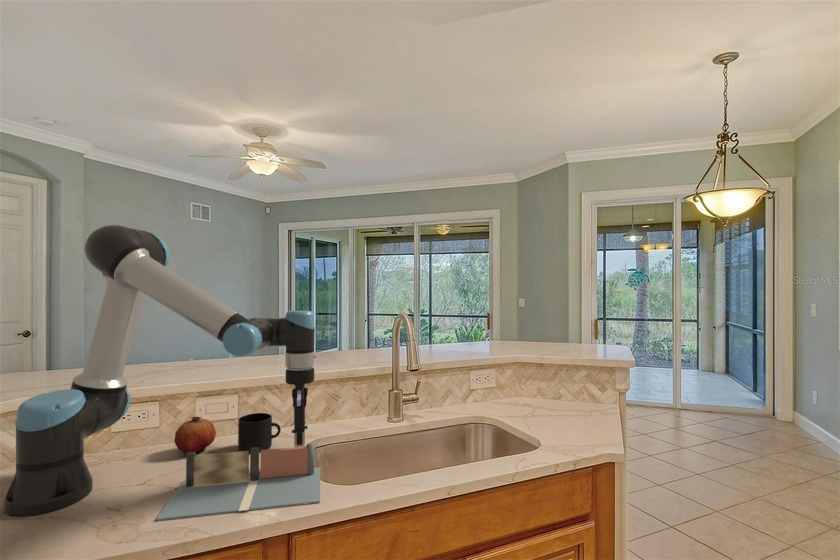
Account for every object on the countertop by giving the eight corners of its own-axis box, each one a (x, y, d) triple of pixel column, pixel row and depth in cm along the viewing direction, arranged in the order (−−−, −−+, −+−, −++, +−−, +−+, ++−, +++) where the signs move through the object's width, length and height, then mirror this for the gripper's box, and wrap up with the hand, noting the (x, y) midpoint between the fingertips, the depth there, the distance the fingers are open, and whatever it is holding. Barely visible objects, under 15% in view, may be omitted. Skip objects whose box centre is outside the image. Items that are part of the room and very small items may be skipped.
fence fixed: (184, 489, 100) (185, 455, 100) (187, 485, 102) (187, 452, 102) (258, 482, 104) (258, 449, 104) (259, 478, 106) (259, 446, 106)
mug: (279, 451, 124) (279, 420, 124) (235, 455, 121) (235, 423, 121) (281, 439, 133) (281, 411, 133) (240, 443, 130) (241, 414, 130)
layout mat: (154, 522, 86) (154, 520, 86) (184, 481, 104) (184, 479, 104) (319, 503, 94) (319, 501, 94) (320, 468, 112) (320, 466, 112)
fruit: (217, 443, 130) (217, 410, 130) (212, 455, 121) (213, 420, 121) (178, 447, 127) (179, 414, 127) (170, 460, 117) (171, 424, 117)
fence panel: (260, 479, 104) (260, 449, 104) (261, 475, 106) (261, 447, 106) (313, 473, 107) (314, 445, 107) (314, 470, 109) (314, 442, 109)
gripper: (313, 371, 108) (313, 463, 108) (314, 362, 121) (314, 445, 120) (283, 373, 106) (282, 466, 106) (287, 363, 119) (287, 447, 119)
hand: (299, 455), depth 113 cm, fingers closed
